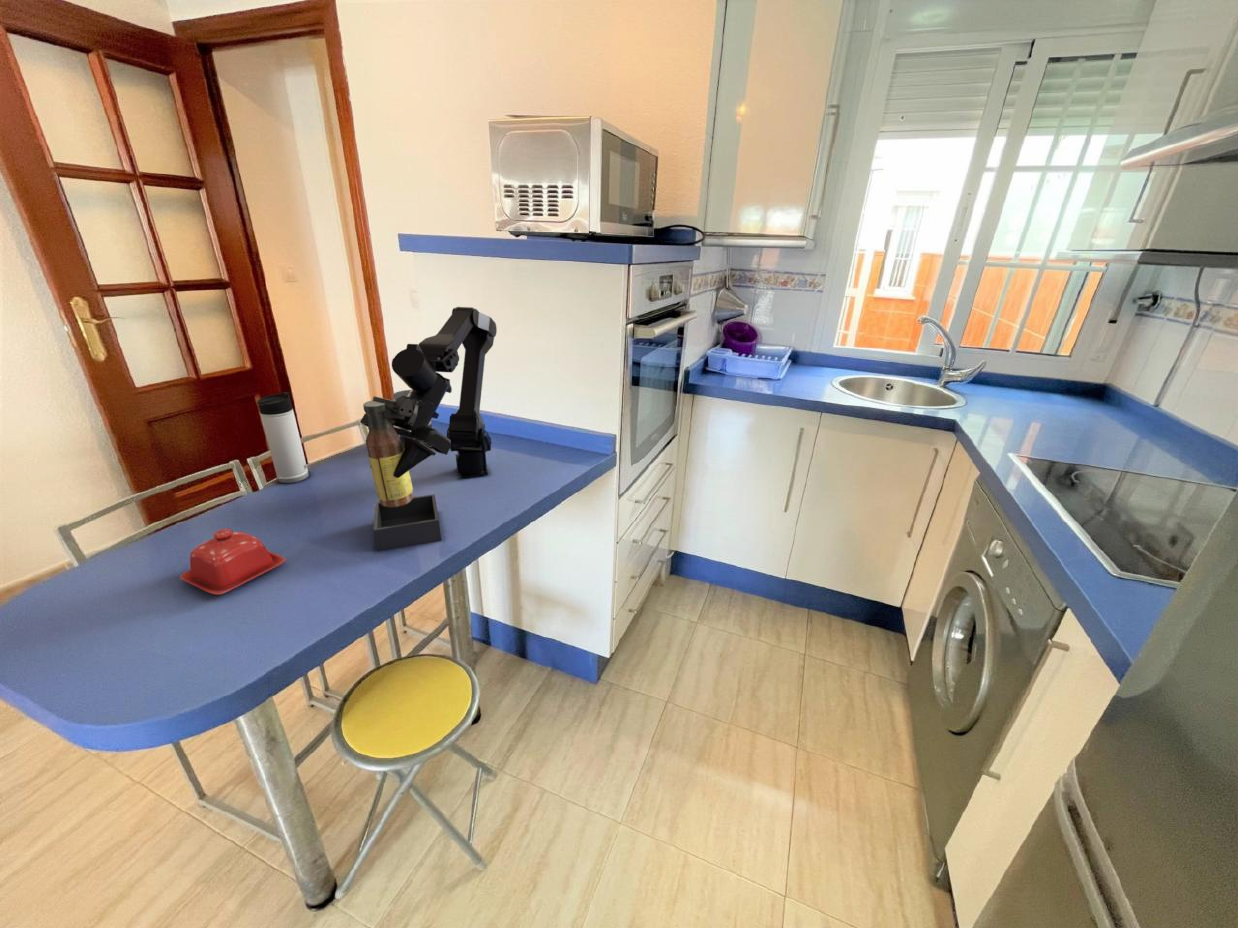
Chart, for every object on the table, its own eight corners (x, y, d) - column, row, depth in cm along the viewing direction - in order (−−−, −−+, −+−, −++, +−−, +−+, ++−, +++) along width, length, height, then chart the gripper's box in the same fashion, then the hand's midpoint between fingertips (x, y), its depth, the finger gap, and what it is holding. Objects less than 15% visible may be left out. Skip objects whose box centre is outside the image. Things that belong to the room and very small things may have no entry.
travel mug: (316, 475, 120) (297, 394, 112) (289, 485, 115) (267, 401, 107) (298, 469, 123) (279, 390, 115) (271, 480, 117) (249, 397, 109)
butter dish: (250, 548, 92) (237, 507, 88) (291, 565, 87) (279, 523, 84) (177, 582, 82) (160, 538, 79) (219, 604, 78) (202, 558, 74)
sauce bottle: (419, 495, 99) (404, 398, 91) (404, 510, 93) (386, 409, 85) (388, 492, 99) (370, 396, 91) (370, 508, 94) (350, 406, 85)
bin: (437, 512, 106) (434, 494, 104) (441, 540, 96) (438, 519, 95) (379, 521, 102) (375, 502, 100) (377, 551, 92) (373, 530, 90)
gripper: (360, 370, 94) (316, 443, 90) (430, 386, 86) (386, 467, 82) (401, 400, 103) (363, 467, 99) (468, 417, 95) (430, 491, 91)
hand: (383, 472), depth 93 cm, fingers closed on sauce bottle, 6 cm apart
